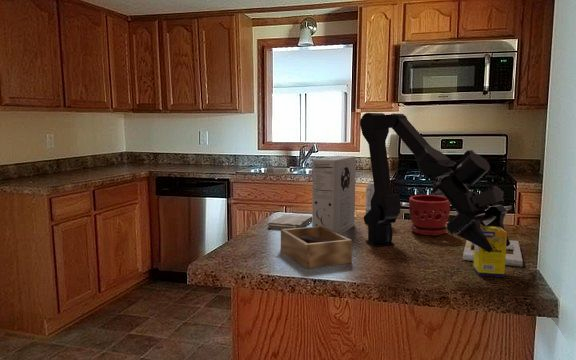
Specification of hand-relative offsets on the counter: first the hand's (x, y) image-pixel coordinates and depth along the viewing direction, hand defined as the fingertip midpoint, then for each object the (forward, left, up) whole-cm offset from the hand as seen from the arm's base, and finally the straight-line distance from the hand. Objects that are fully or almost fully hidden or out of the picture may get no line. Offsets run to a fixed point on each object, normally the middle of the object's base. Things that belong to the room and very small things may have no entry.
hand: (500, 248), depth 105 cm
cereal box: (-15, +56, -7) cm, 58 cm away
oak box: (-34, +31, -7) cm, 46 cm away
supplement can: (+5, +61, -7) cm, 61 cm away
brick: (-33, +32, -7) cm, 46 cm away
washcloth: (-26, +70, -7) cm, 75 cm away
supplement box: (-1, +2, -7) cm, 7 cm away
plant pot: (+13, +42, -7) cm, 44 cm away
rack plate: (+14, +16, -7) cm, 22 cm away
